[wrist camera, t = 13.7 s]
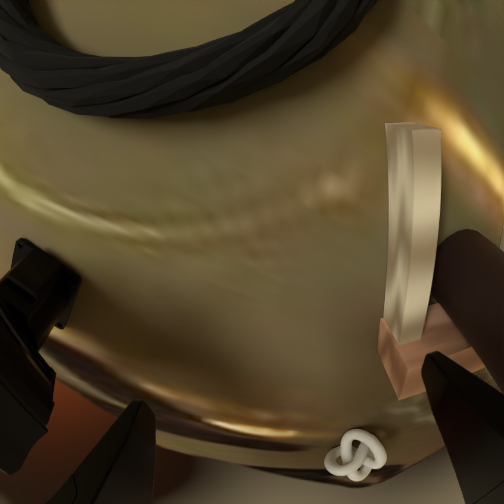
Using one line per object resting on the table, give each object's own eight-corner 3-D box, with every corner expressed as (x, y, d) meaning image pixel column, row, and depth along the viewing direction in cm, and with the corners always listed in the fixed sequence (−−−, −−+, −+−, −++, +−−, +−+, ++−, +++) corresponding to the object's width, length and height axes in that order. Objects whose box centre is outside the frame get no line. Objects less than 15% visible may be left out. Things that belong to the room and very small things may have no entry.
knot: (391, 430, 35) (403, 464, 29) (344, 455, 37) (352, 488, 32) (366, 417, 32) (379, 456, 27) (314, 445, 34) (321, 482, 29)
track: (495, 312, 26) (524, 347, 20) (376, 350, 26) (398, 400, 21) (525, 126, 17) (575, 142, 11) (381, 123, 17) (433, 136, 12)
